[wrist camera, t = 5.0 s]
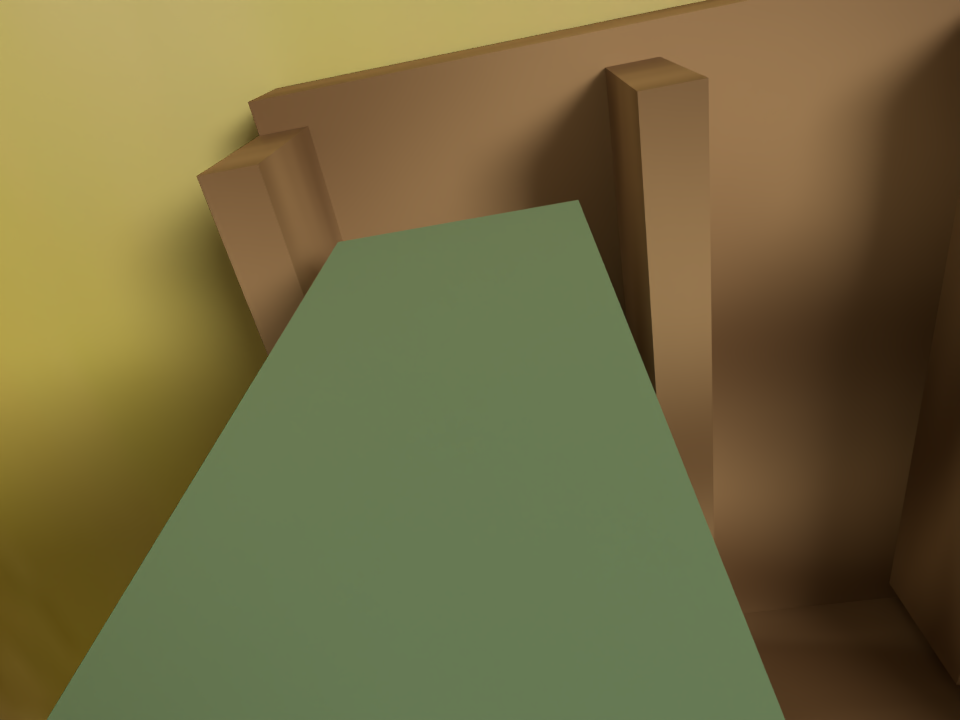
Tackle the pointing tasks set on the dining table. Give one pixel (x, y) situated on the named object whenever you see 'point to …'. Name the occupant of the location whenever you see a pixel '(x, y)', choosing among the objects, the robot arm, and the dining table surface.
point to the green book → (438, 513)
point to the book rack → (707, 281)
